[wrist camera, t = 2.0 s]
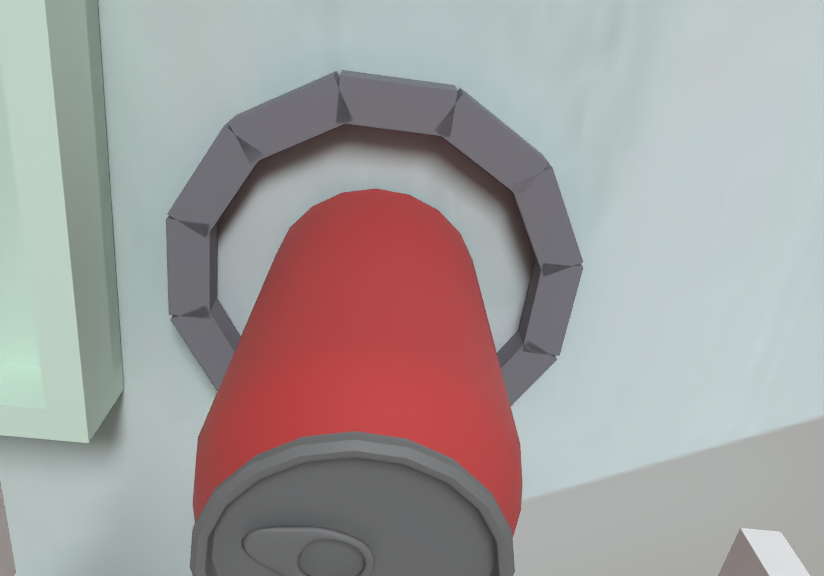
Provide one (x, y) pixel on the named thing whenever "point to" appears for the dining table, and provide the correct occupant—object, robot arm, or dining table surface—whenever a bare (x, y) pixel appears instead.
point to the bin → (55, 225)
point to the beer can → (361, 409)
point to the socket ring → (388, 109)
